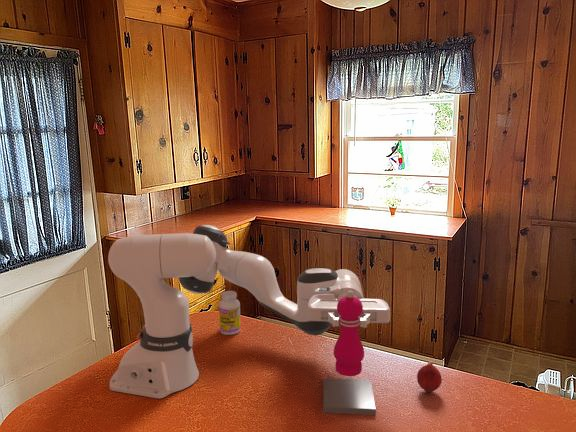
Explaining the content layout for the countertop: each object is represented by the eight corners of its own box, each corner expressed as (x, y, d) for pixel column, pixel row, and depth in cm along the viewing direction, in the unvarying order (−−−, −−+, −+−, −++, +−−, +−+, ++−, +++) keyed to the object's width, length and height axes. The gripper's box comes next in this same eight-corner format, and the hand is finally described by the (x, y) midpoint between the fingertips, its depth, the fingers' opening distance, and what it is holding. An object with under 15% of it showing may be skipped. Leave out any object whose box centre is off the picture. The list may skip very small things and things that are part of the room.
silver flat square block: (323, 412, 106) (323, 406, 106) (323, 383, 118) (323, 378, 118) (375, 414, 105) (375, 409, 105) (370, 385, 117) (370, 379, 117)
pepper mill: (344, 381, 105) (346, 299, 101) (327, 366, 112) (328, 288, 107) (369, 372, 109) (372, 293, 104) (352, 359, 115) (353, 283, 111)
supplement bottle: (216, 334, 145) (215, 296, 142) (224, 325, 151) (222, 288, 149) (236, 336, 144) (235, 298, 141) (243, 327, 150) (242, 290, 147)
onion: (441, 400, 111) (444, 369, 109) (417, 397, 112) (418, 367, 110) (439, 386, 116) (441, 357, 114) (415, 384, 117) (417, 355, 116)
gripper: (386, 313, 120) (394, 338, 106) (308, 311, 122) (306, 335, 108) (387, 290, 119) (395, 312, 105) (308, 288, 120) (306, 310, 107)
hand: (349, 324), depth 107 cm, fingers closed on pepper mill, 5 cm apart
